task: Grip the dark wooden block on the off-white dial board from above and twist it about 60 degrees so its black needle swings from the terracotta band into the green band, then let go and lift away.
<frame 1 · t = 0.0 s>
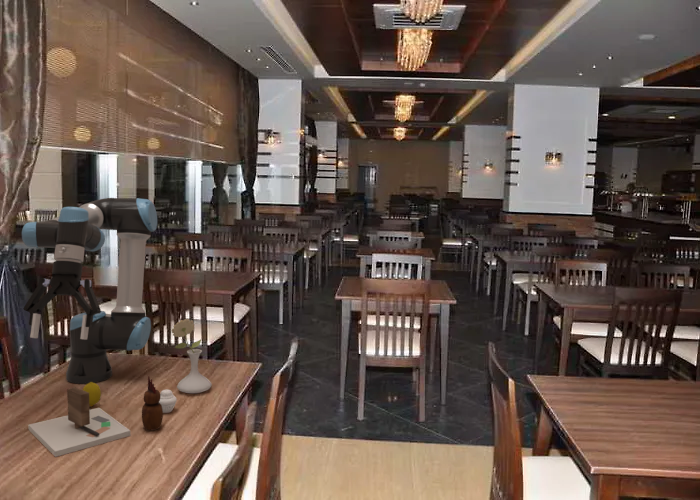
hand: (58, 338, 167), 28 cm above the table, tool tilted 20°, fingers open, 13 cm apart
flower in vase: (191, 391, 208), on the table
dark wooden block: (84, 411, 170), point 7 cm above the table, hinge at 10.0°
wooden figurine: (152, 428, 177), on the table
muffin: (166, 411, 190), on the table
dial board: (79, 432, 173), on the table
lemon: (91, 407, 192), on the table
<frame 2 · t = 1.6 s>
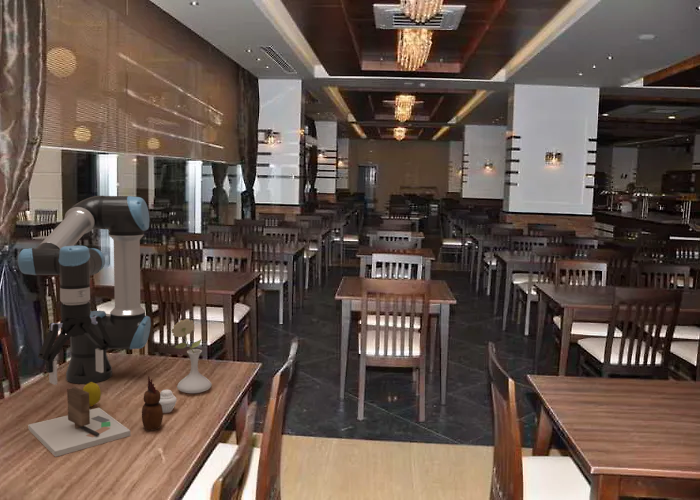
hand: (77, 377, 170), 16 cm above the table, tool pointing down, fingers open, 13 cm apart
nothing on the table moved.
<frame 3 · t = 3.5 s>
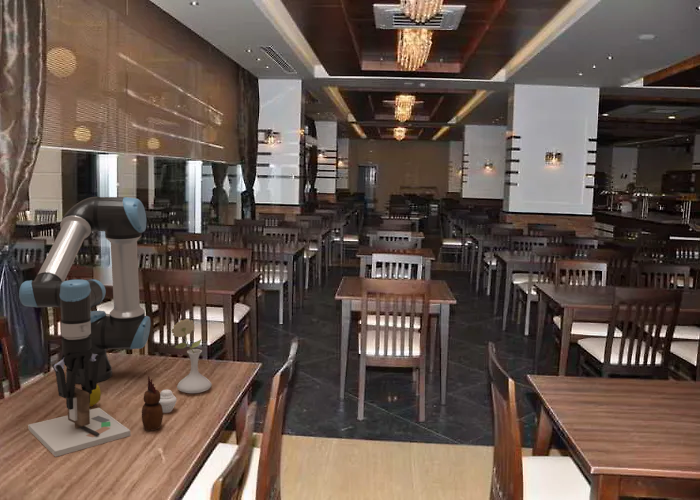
hand: (78, 417, 172), 5 cm above the table, tool pointing down, fingers closed on dark wooden block, 2 cm apart
dark wooden block: (84, 411, 170), point 7 cm above the table, hinge at 10.1°, touching gripper
everything else where it was.
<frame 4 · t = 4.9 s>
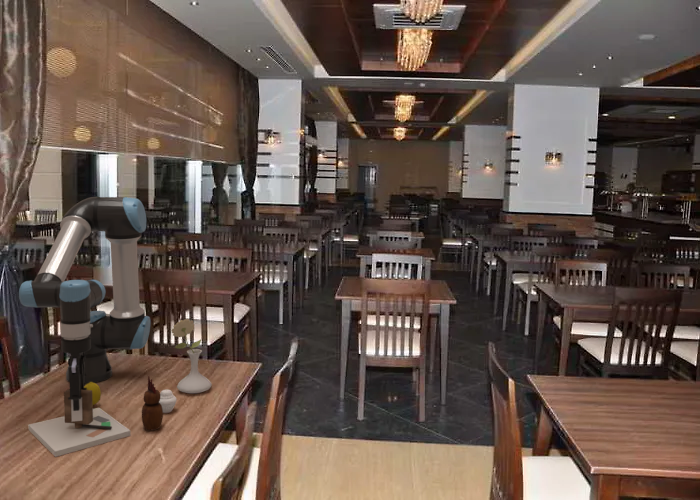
hand: (78, 417, 172), 5 cm above the table, tool pointing down, fingers closed on dark wooden block, 4 cm apart
dark wooden block: (88, 409, 171), point 7 cm above the table, hinge at 39.9°, touching gripper
everything else where it was.
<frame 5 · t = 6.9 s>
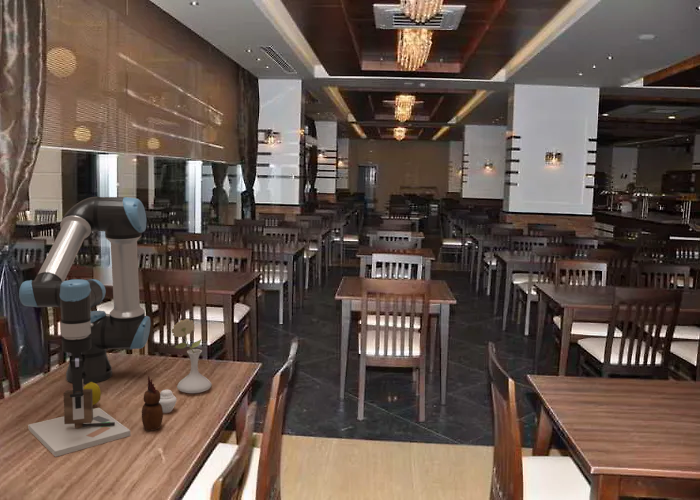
hand: (78, 409, 172), 7 cm above the table, tool pointing down, fingers open, 13 cm apart
dark wooden block: (89, 408, 172), point 7 cm above the table, hinge at 57.6°
everything else where it was.
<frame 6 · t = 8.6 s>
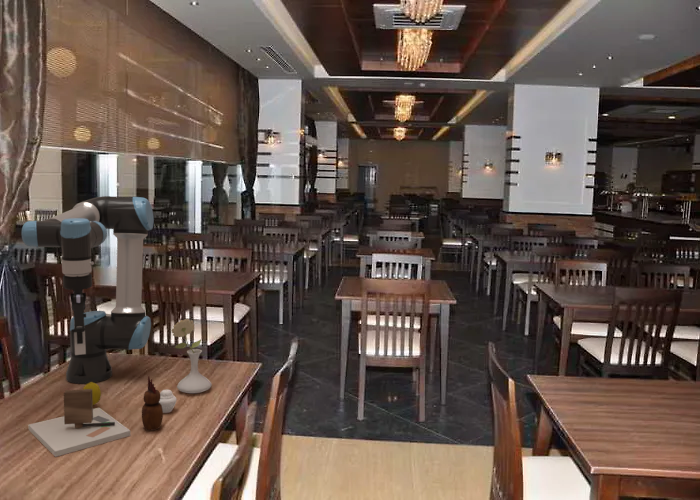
hand: (80, 347, 175), 23 cm above the table, tool pointing down, fingers open, 13 cm apart
dark wooden block: (89, 408, 172), point 7 cm above the table, hinge at 58.6°
everything else where it was.
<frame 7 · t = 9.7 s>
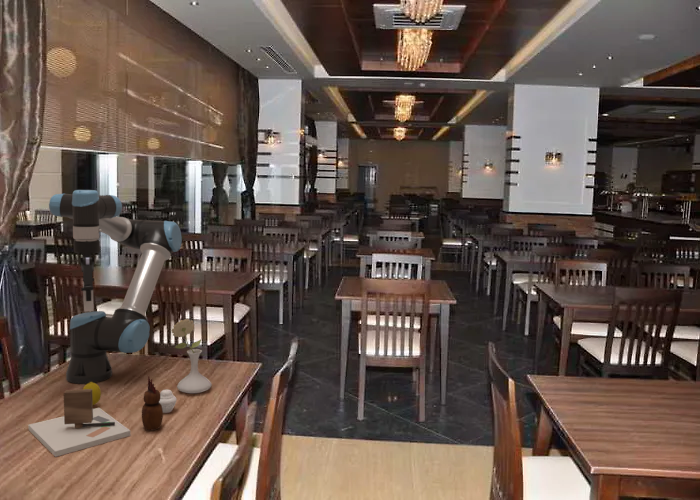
hand: (88, 306, 193), 31 cm above the table, tool pointing down, fingers open, 13 cm apart
nothing on the table moved.
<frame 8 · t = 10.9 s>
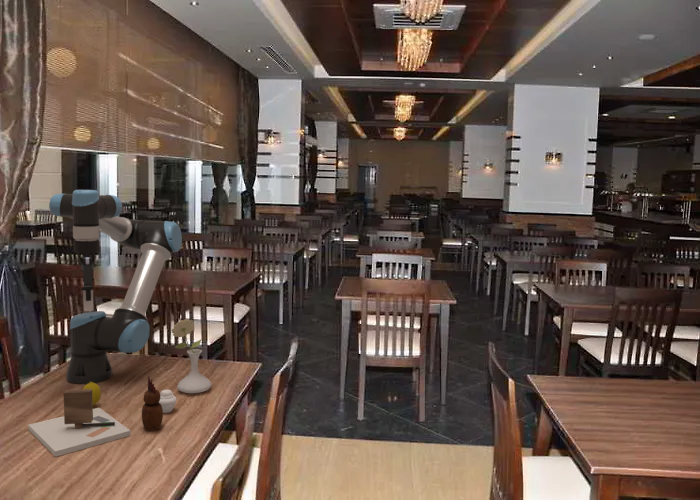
hand: (88, 306, 194), 31 cm above the table, tool pointing down, fingers open, 13 cm apart
nothing on the table moved.
at the end: dark wooden block at +59° (first picture: +10°); the gripper is holding nothing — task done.
